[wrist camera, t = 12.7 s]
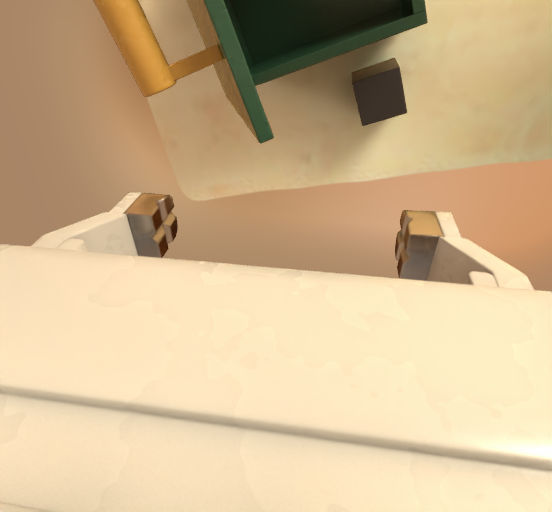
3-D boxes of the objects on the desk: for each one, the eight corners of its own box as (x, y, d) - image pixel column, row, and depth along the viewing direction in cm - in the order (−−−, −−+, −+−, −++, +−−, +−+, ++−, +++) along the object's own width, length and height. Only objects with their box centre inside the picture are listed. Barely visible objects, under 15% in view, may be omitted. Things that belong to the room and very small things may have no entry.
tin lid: (141, -223, 13) (-1, -159, 13) (274, 138, 20) (180, 179, 20) (164, -83, 28) (98, -54, 28) (235, 94, 35) (181, 117, 35)
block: (395, 57, 39) (399, 66, 36) (402, 100, 41) (407, 113, 38) (351, 72, 40) (352, 82, 37) (361, 113, 43) (362, 126, 39)
